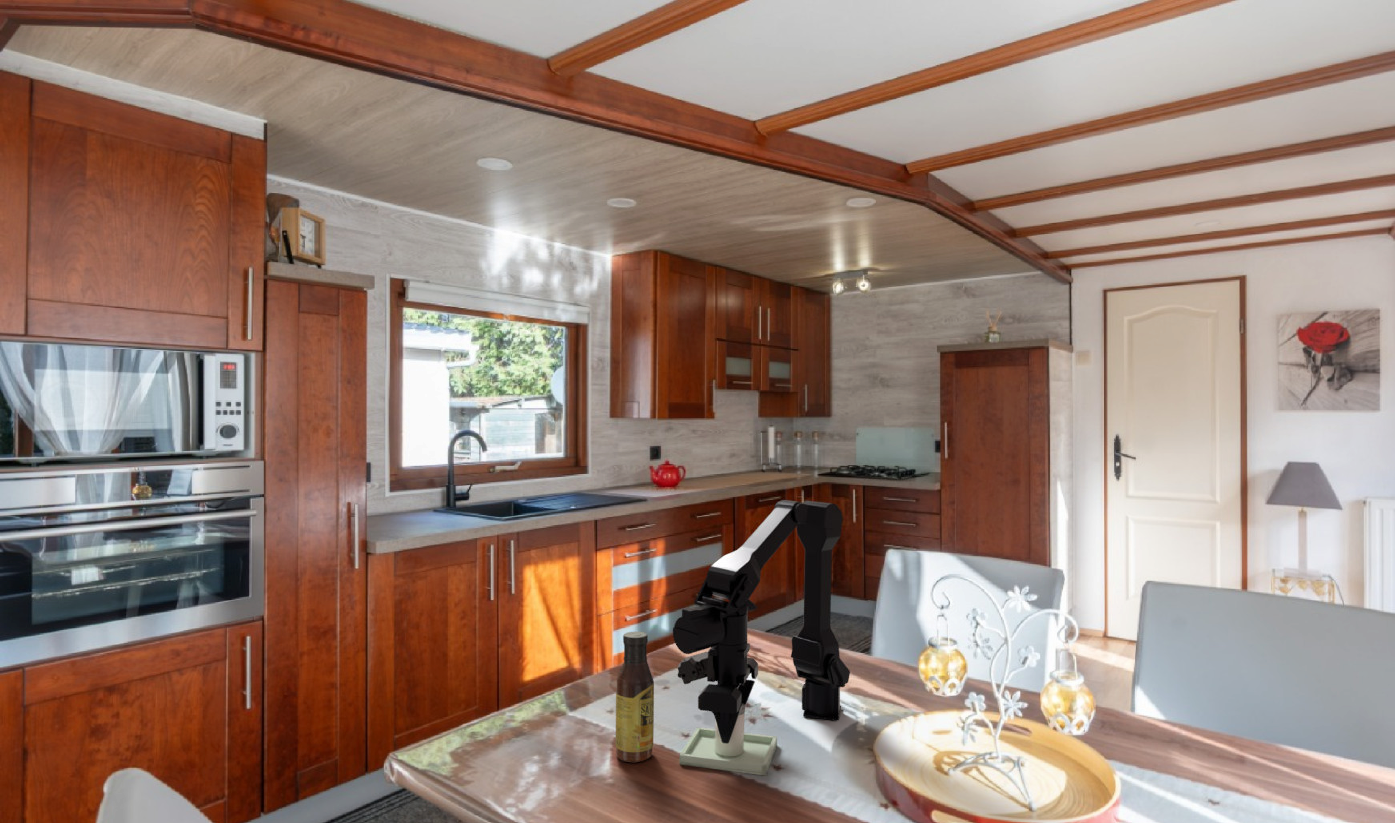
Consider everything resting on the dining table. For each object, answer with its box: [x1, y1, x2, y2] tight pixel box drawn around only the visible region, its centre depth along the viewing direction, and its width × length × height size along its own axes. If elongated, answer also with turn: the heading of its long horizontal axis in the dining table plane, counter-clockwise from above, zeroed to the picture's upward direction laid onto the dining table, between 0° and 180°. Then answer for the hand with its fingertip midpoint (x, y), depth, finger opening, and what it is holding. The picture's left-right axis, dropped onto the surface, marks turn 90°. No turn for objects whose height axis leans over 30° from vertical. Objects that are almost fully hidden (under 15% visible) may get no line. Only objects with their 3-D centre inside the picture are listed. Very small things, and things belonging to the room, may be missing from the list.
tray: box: [679, 726, 778, 777], centre depth 125 cm, size 14×11×2 cm
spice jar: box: [714, 704, 746, 756], centre depth 125 cm, size 5×5×7 cm
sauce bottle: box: [615, 631, 655, 763], centre depth 125 cm, size 6×6×20 cm
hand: (729, 734), depth 125 cm, fingers open, 6 cm apart
